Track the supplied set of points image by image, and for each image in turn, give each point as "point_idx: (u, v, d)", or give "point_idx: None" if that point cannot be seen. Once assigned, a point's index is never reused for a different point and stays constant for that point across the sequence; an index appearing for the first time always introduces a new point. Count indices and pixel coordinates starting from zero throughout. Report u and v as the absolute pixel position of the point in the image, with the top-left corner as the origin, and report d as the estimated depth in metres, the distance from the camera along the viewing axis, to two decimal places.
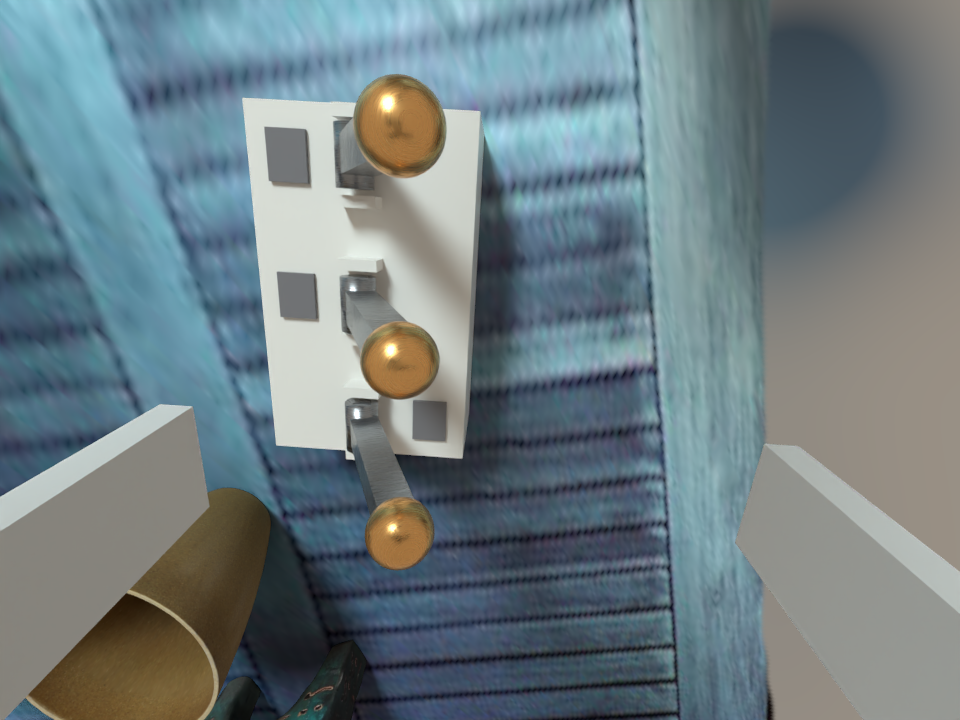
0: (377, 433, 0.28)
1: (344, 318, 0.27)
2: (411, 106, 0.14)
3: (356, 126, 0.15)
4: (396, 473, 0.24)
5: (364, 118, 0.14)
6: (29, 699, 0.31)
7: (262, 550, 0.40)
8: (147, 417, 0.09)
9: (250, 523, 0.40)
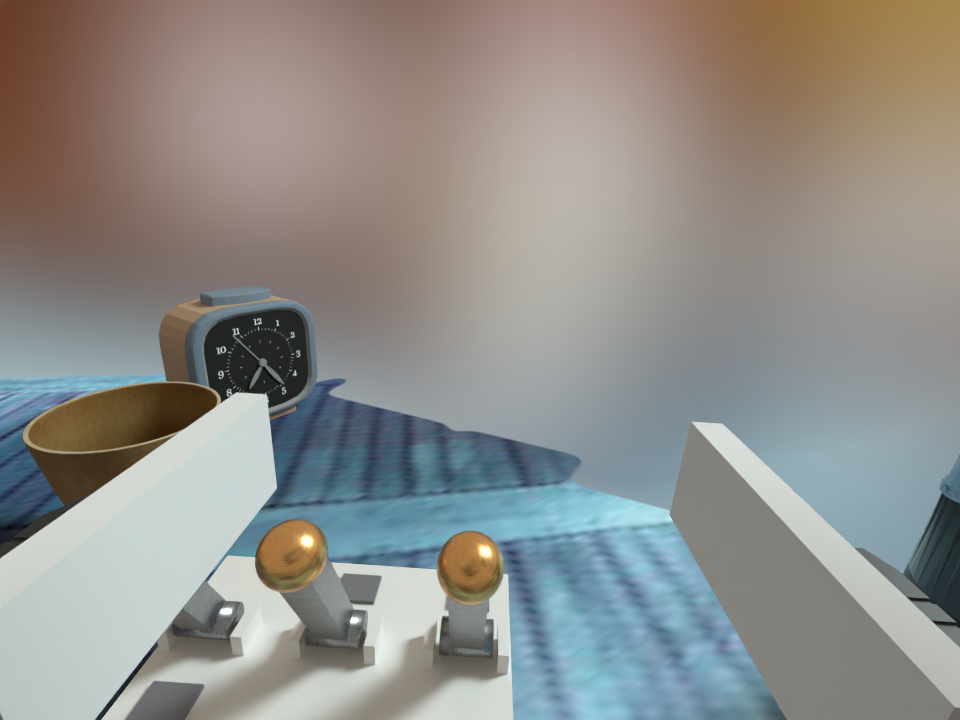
0: (200, 610, 0.26)
1: None
2: (480, 553, 0.20)
3: None
4: None
5: (473, 531, 0.21)
6: (144, 383, 0.48)
7: None
8: (228, 404, 0.10)
9: None
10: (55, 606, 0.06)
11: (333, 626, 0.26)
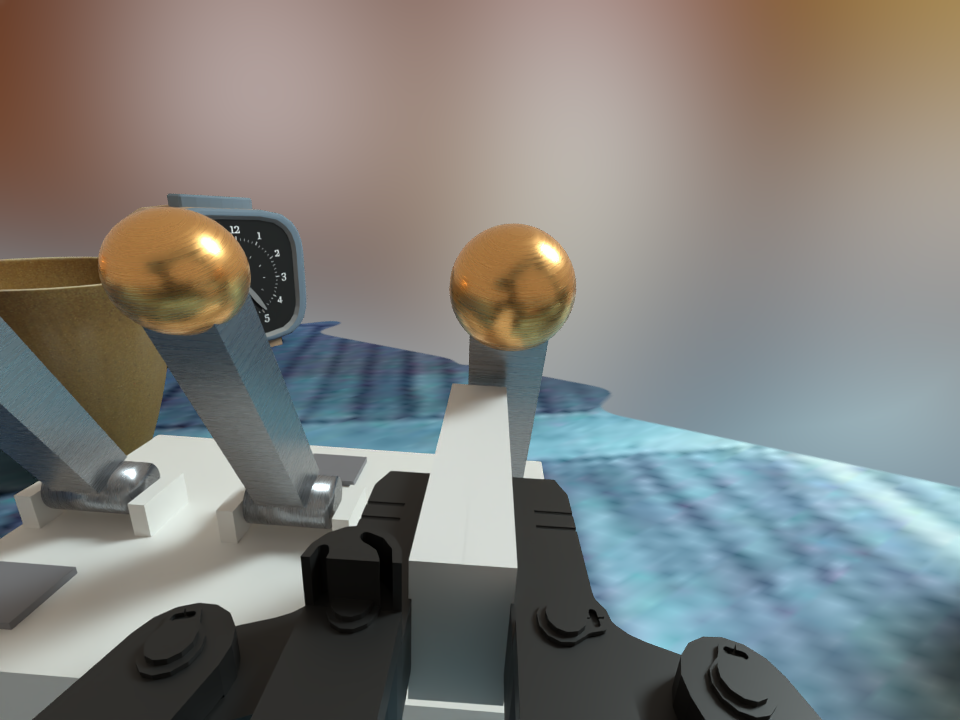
0: (71, 450, 0.17)
1: None
2: (536, 234, 0.10)
3: None
4: None
5: None
6: (78, 257, 0.39)
7: None
8: (458, 394, 0.12)
9: None
10: None
11: (279, 471, 0.16)
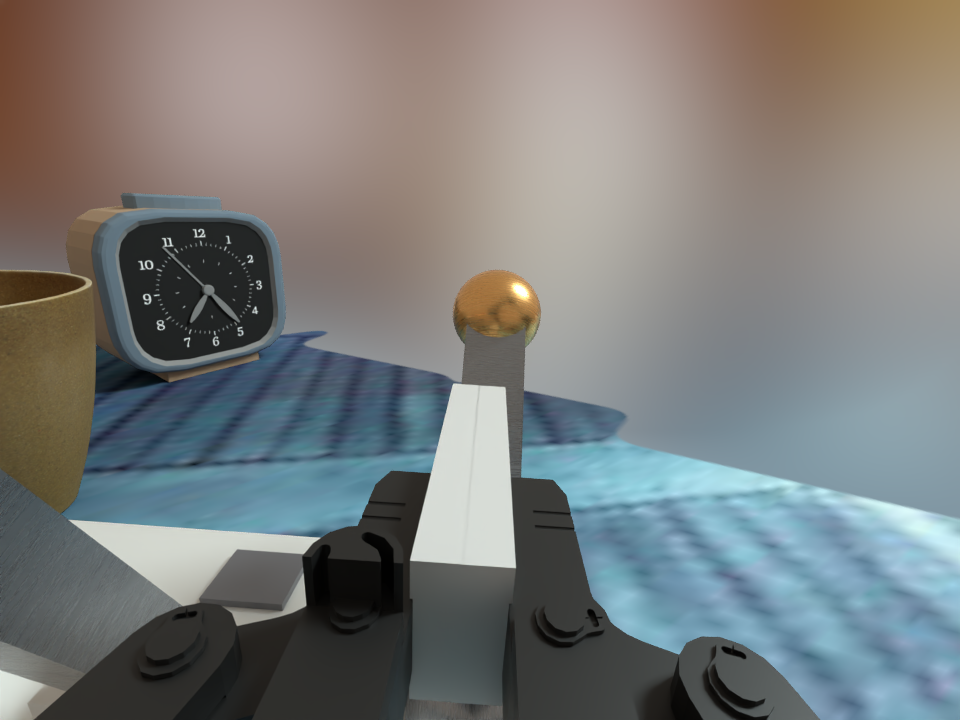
0: None
1: None
2: None
3: None
4: None
5: None
6: None
7: None
8: (458, 393, 0.12)
9: None
10: None
11: None
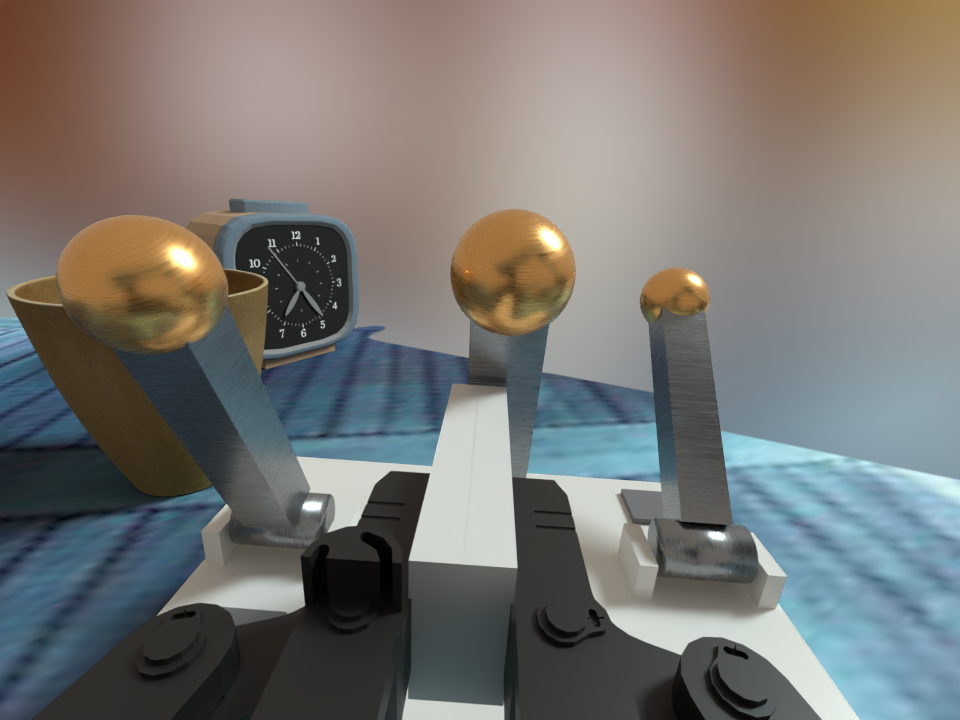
0: (281, 486, 0.16)
1: None
2: None
3: None
4: (231, 401, 0.12)
5: None
6: None
7: (137, 453, 0.31)
8: (458, 393, 0.12)
9: (184, 454, 0.32)
10: None
11: None
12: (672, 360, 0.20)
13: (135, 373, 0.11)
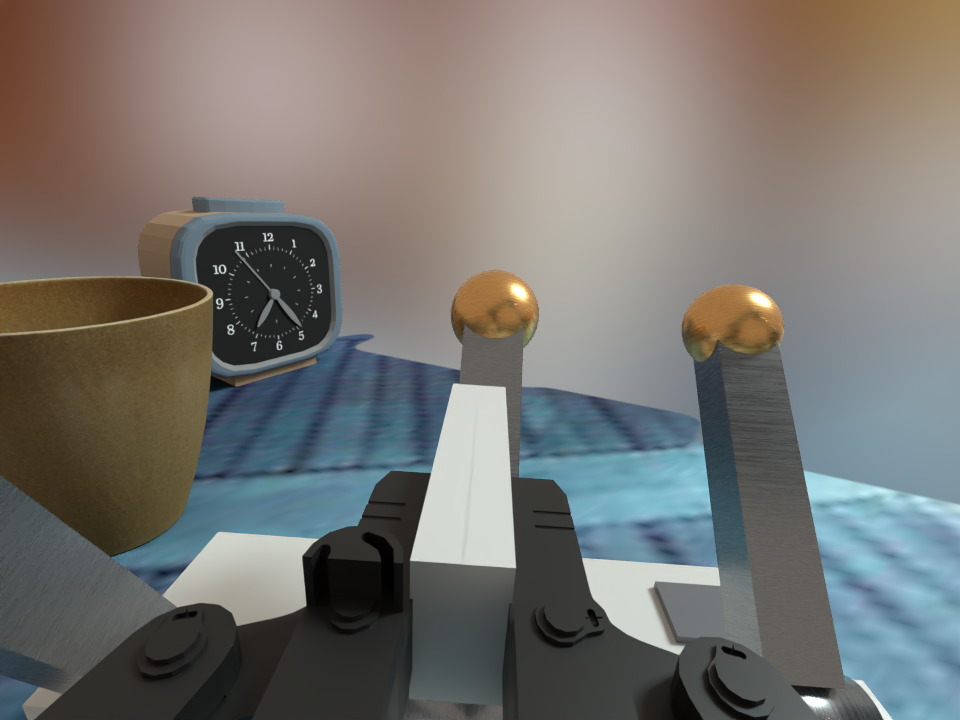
0: None
1: None
2: None
3: None
4: None
5: None
6: (98, 277, 0.32)
7: None
8: (458, 393, 0.12)
9: (102, 511, 0.26)
10: None
11: None
12: (737, 421, 0.14)
13: None
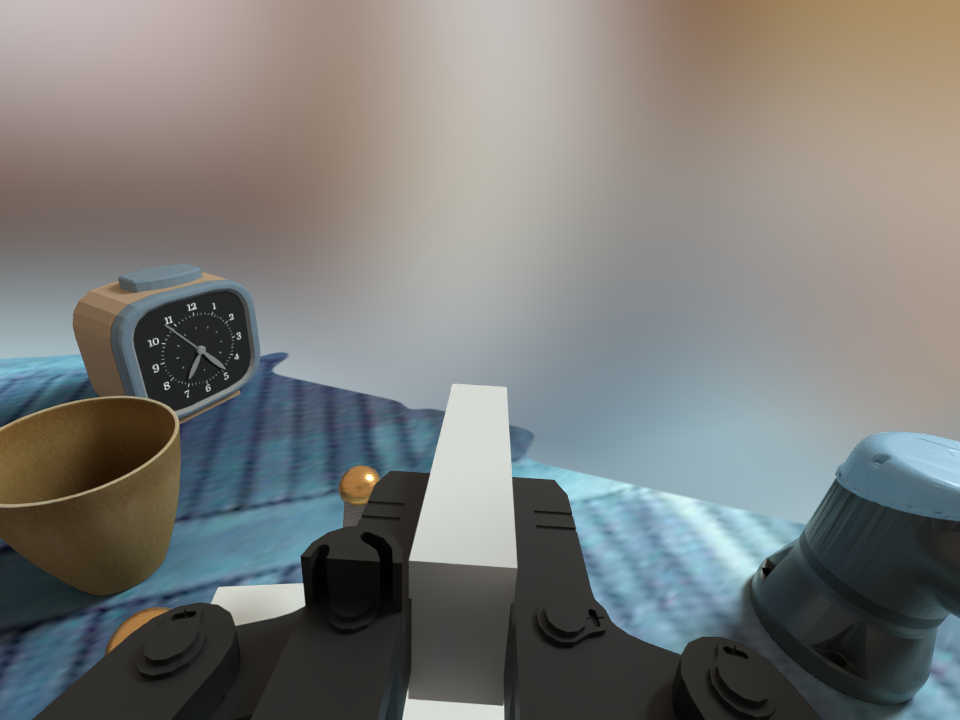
0: None
1: None
2: None
3: None
4: None
5: None
6: (79, 401, 0.44)
7: (84, 577, 0.39)
8: (458, 393, 0.12)
9: (123, 569, 0.41)
10: None
11: None
12: None
13: None
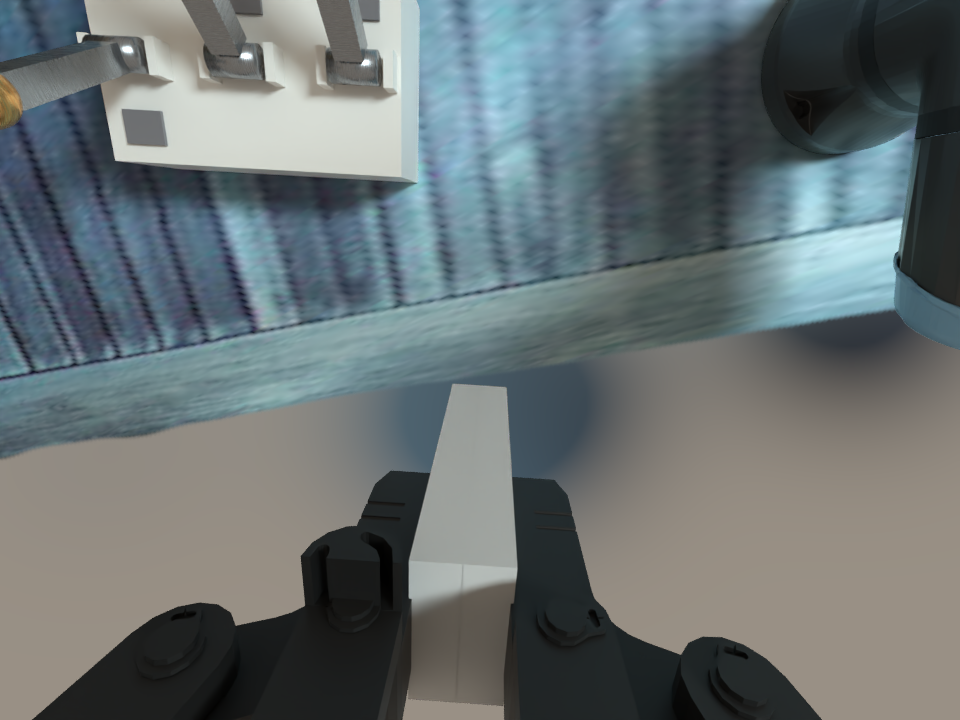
0: (104, 73, 0.30)
1: None
2: None
3: None
4: (52, 92, 0.26)
5: None
6: None
7: None
8: (458, 393, 0.12)
9: None
10: None
11: (214, 11, 0.28)
12: None
13: None
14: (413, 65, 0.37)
